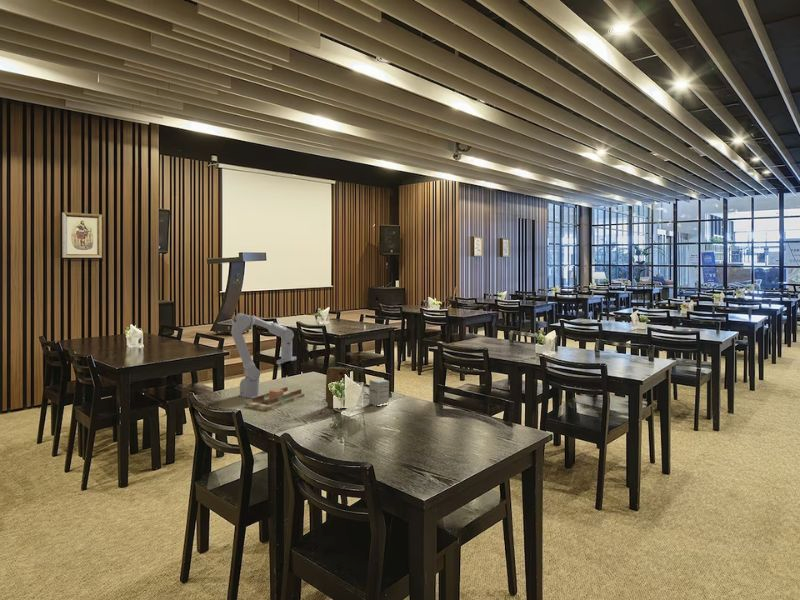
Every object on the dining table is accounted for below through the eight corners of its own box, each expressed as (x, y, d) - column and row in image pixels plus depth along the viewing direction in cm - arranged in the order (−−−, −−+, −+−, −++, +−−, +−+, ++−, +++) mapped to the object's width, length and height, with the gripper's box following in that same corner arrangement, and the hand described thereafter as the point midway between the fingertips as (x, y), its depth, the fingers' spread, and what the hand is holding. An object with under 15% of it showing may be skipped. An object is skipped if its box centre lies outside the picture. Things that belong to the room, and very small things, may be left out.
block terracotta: (269, 398, 257) (269, 390, 257) (275, 396, 261) (275, 388, 261) (277, 400, 255) (277, 392, 254) (283, 397, 259) (283, 390, 259)
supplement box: (368, 404, 259) (368, 379, 258) (379, 401, 264) (380, 377, 263) (377, 407, 253) (378, 382, 252) (388, 405, 258) (389, 380, 257)
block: (324, 407, 251) (324, 367, 250) (333, 404, 257) (334, 364, 256) (341, 411, 245) (342, 370, 244) (351, 407, 252) (351, 367, 250)
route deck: (245, 407, 248) (245, 398, 248) (283, 393, 274) (283, 386, 274) (267, 411, 242) (268, 402, 242) (304, 397, 268) (304, 390, 268)
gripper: (284, 353, 268) (283, 378, 269) (301, 349, 281) (300, 373, 282) (273, 351, 271) (273, 377, 272) (290, 348, 284) (290, 372, 285)
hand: (286, 375), depth 277 cm, fingers closed
